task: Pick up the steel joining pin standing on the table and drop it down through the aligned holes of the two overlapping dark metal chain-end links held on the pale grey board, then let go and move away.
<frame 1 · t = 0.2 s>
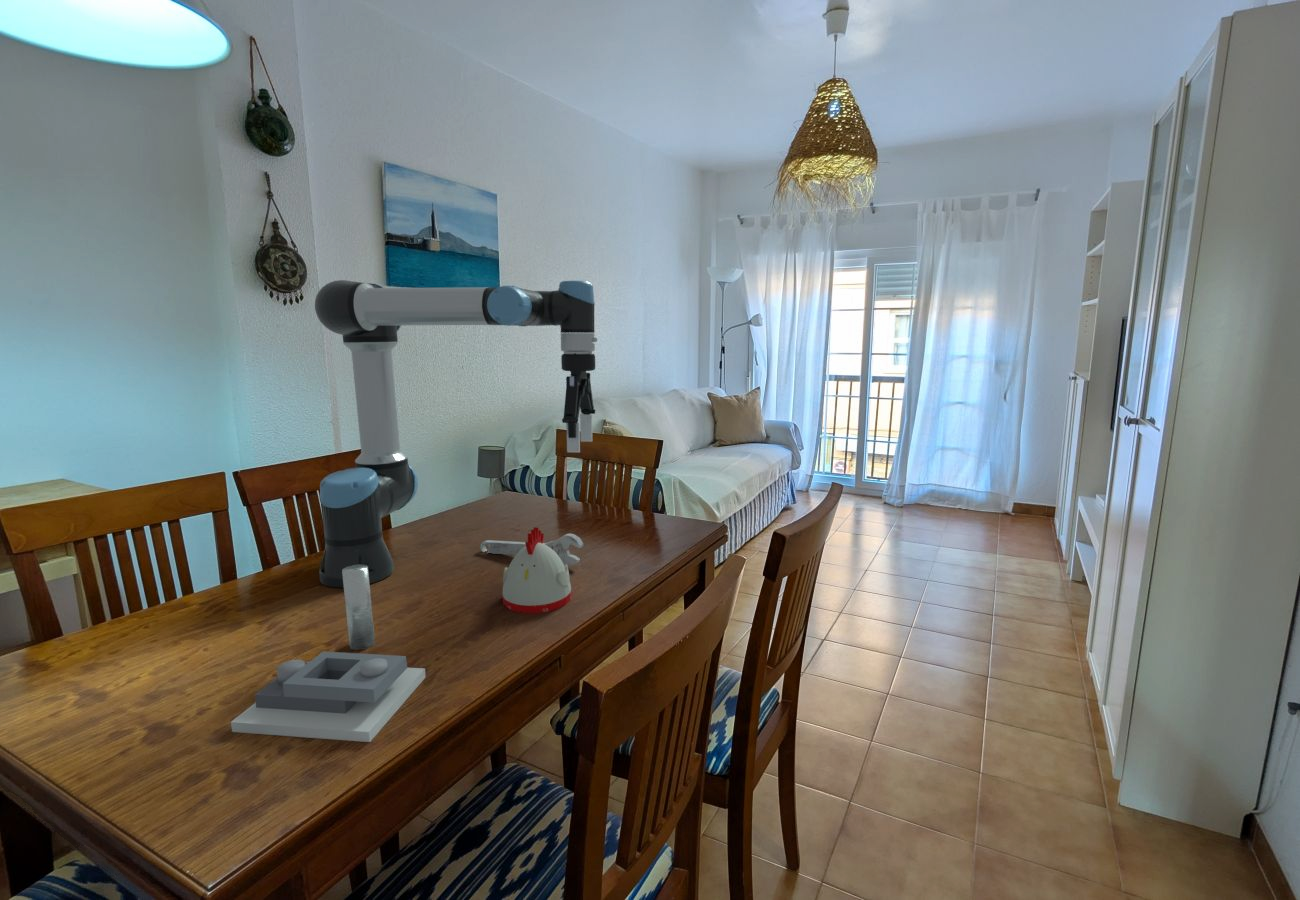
hand: (580, 446, 143), 28 cm above the table, tool pointing down, fingers open, 13 cm apart
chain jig: (335, 702, 92), on the table
wrench: (530, 561, 150), on the table
joining pin: (362, 644, 109), on the table
kitchen timer: (537, 599, 128), on the table
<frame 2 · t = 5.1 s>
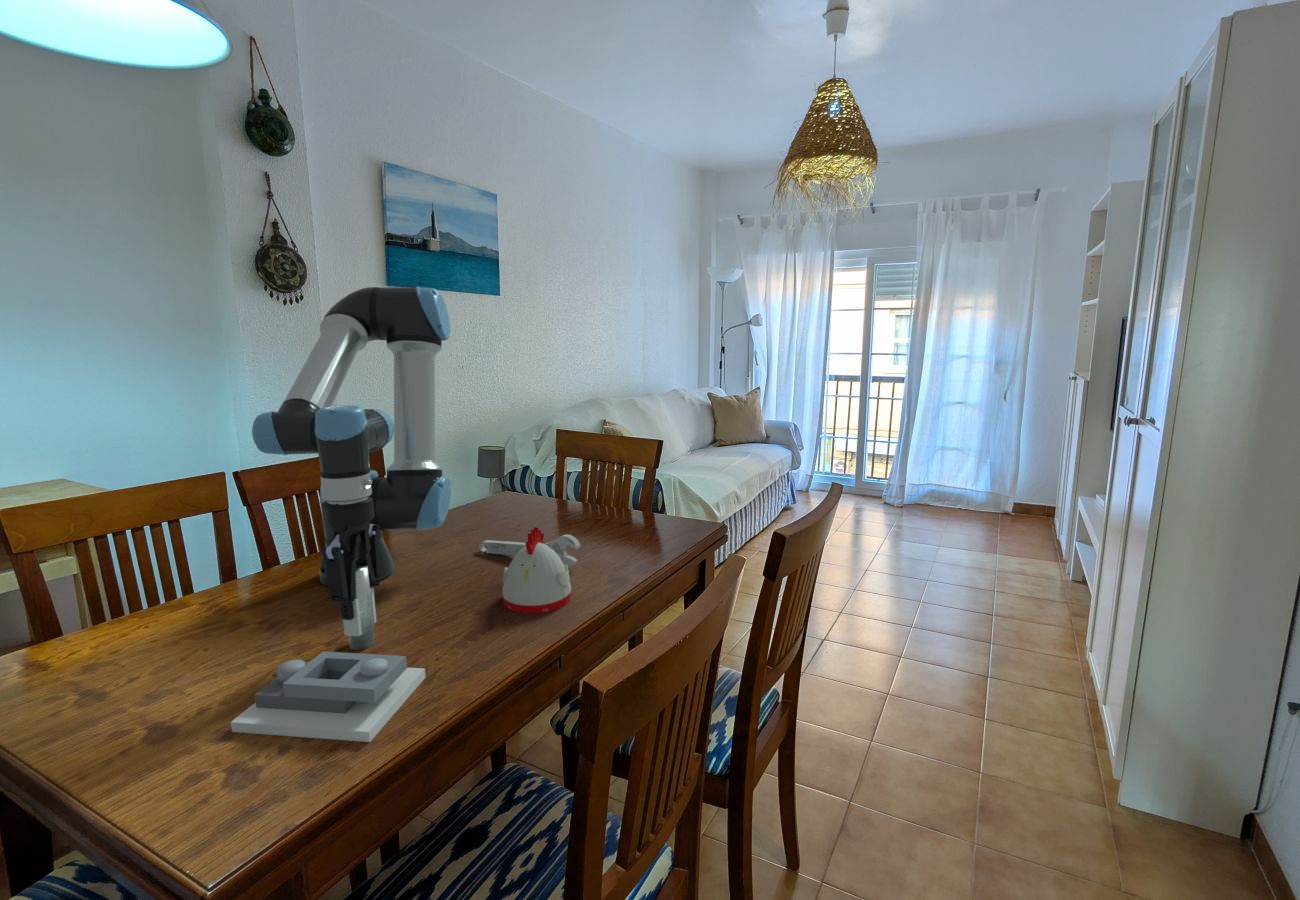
hand: (360, 628, 109), 3 cm above the table, tool pointing down, fingers closed on joining pin, 4 cm apart
joining pin: (362, 644, 109), on the table, touching gripper
everything else where it was.
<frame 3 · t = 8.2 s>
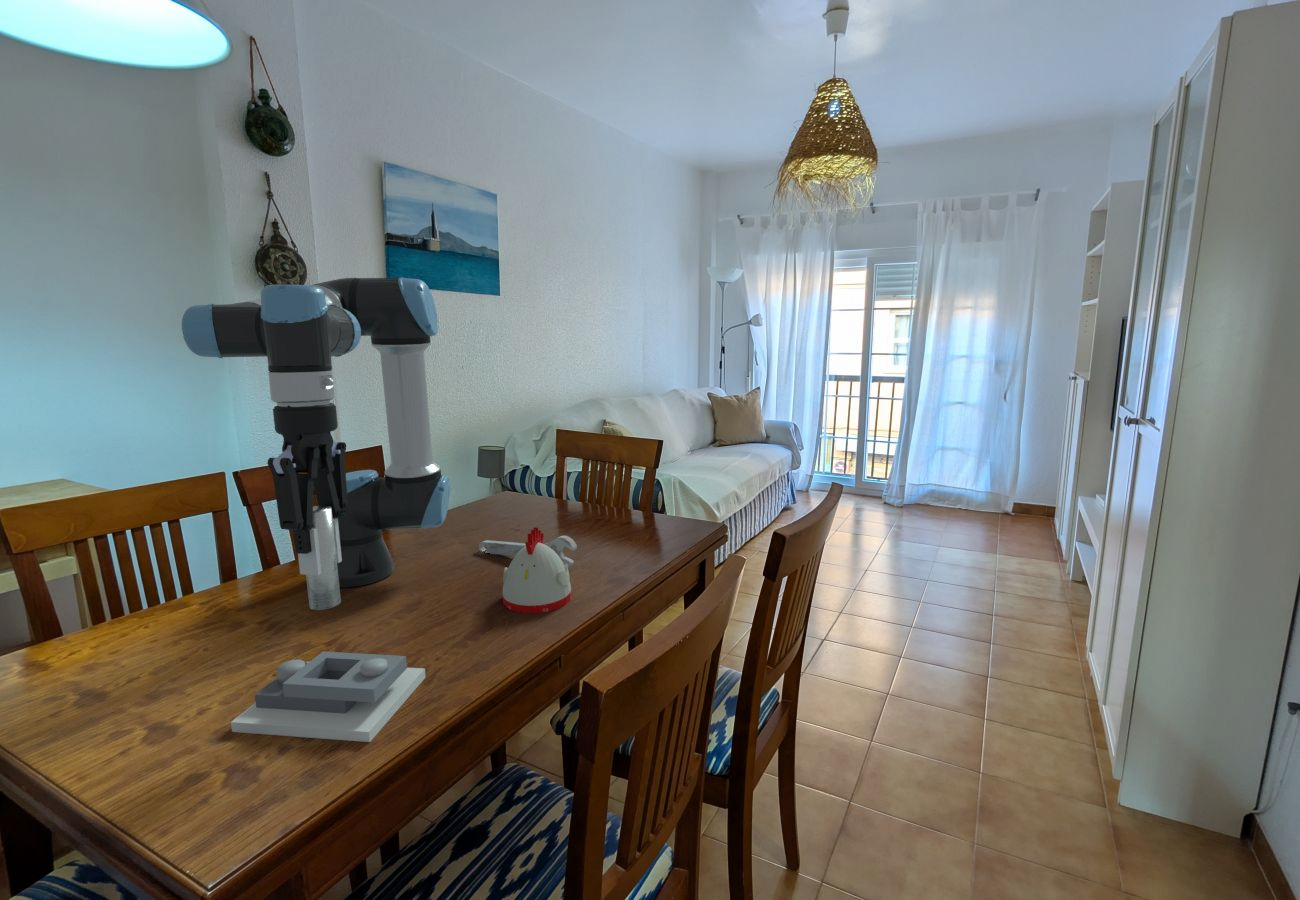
hand: (321, 567, 88), 21 cm above the table, tool pointing down, fingers closed on joining pin, 4 cm apart
joining pin: (325, 603, 89), point 15 cm above the table, touching gripper
when the fingers open (7 cm above the table, at t = 11.2 s): joining pin stays where it is, resting on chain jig.
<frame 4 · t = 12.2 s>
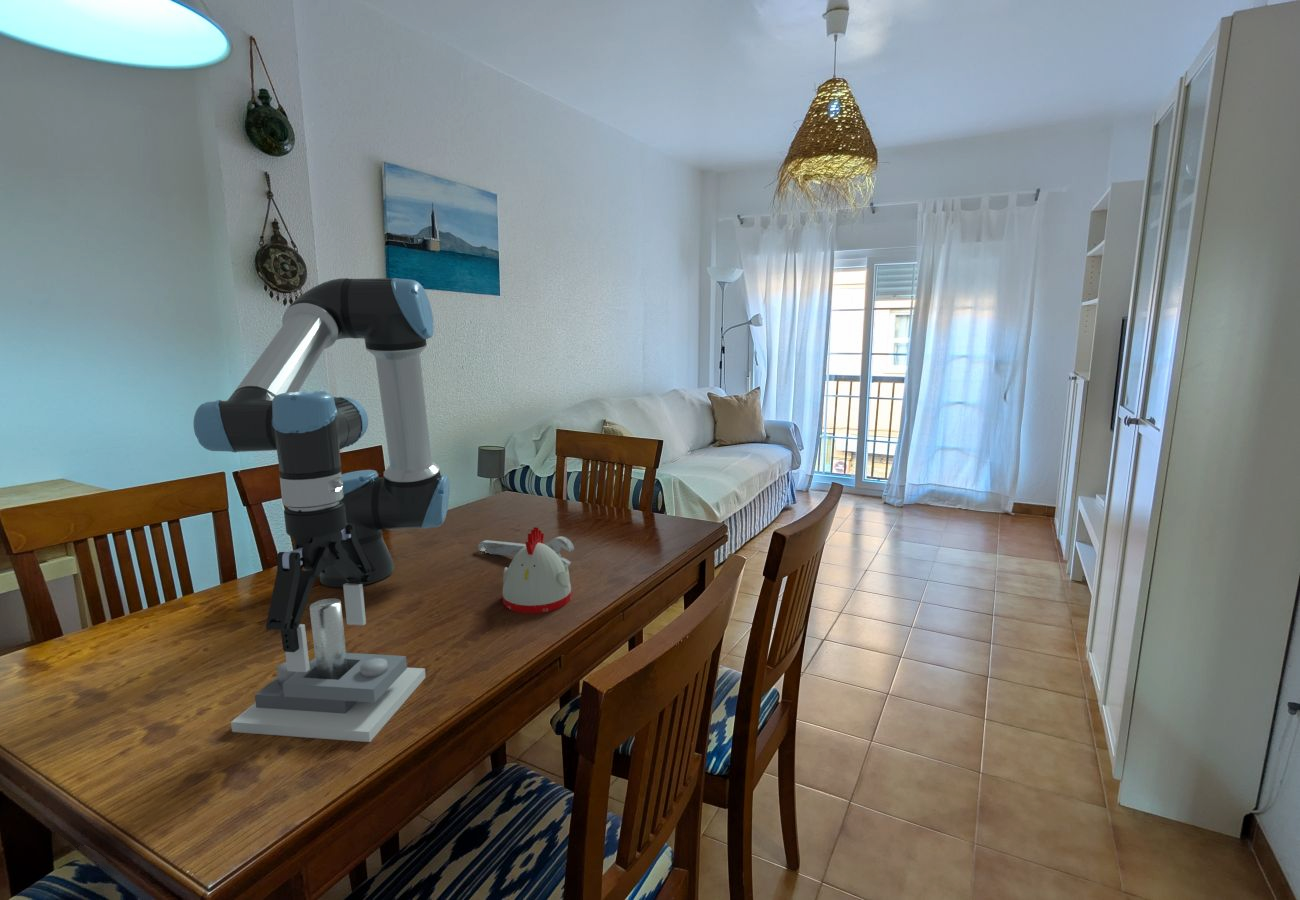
hand: (329, 645, 90), 9 cm above the table, tool pointing down, fingers open, 13 cm apart
joining pin: (334, 693, 92), point 1 cm above the table, touching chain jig
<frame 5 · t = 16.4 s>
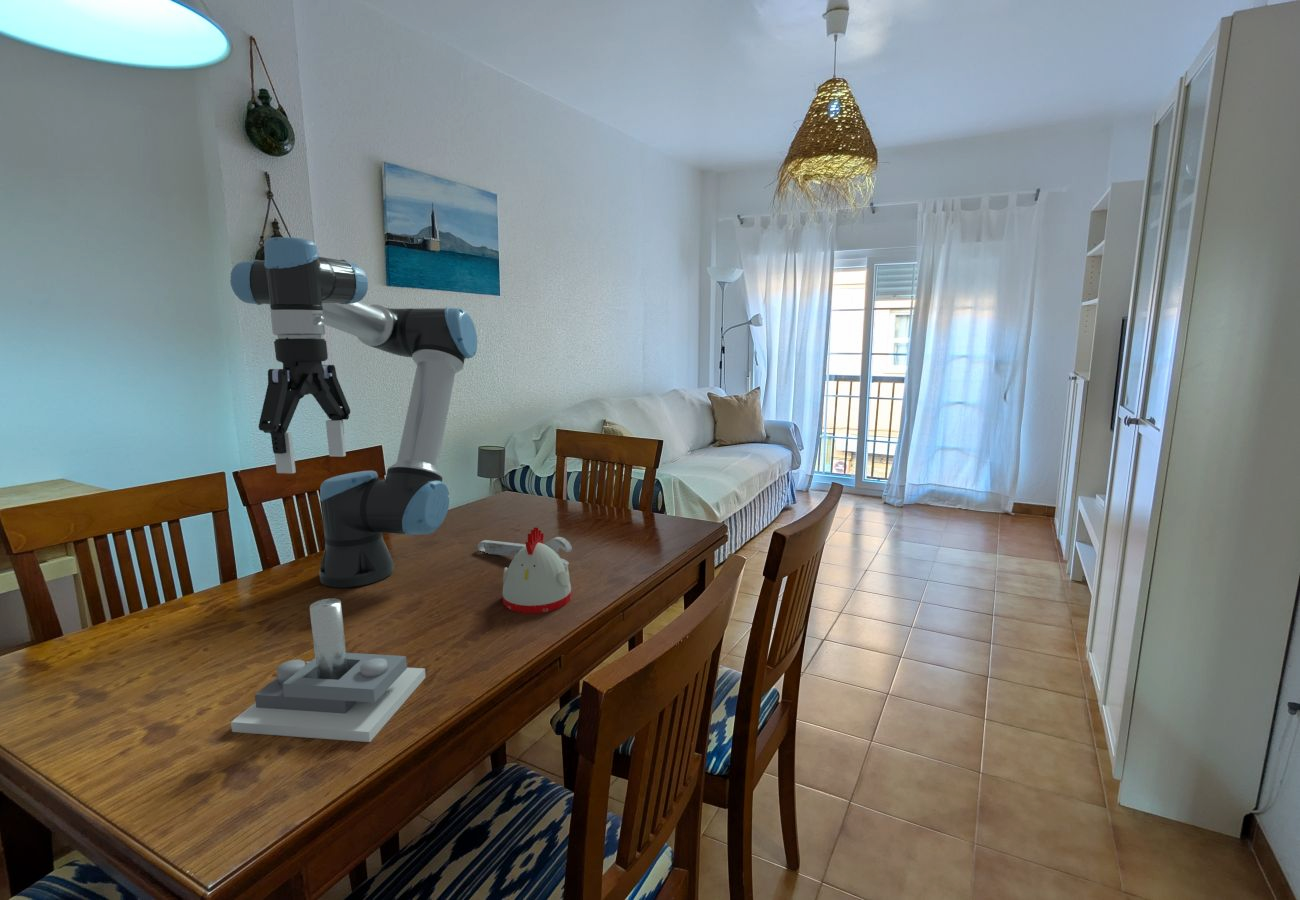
hand: (313, 464, 106), 32 cm above the table, tool pointing down, fingers open, 13 cm apart
at the end: joining pin 0.0 cm off-centre on the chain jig, point 1.5 cm above the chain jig's base; joining pin tilted 0°; the gripper is holding nothing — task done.
